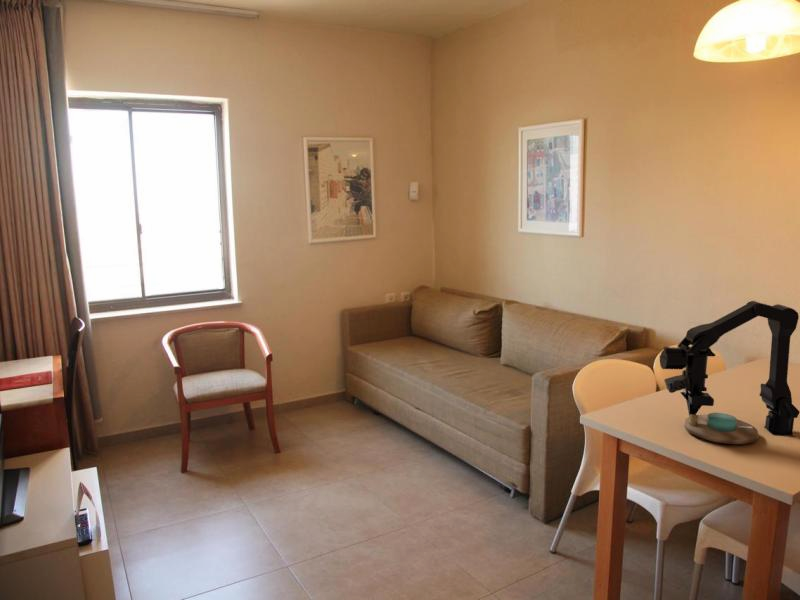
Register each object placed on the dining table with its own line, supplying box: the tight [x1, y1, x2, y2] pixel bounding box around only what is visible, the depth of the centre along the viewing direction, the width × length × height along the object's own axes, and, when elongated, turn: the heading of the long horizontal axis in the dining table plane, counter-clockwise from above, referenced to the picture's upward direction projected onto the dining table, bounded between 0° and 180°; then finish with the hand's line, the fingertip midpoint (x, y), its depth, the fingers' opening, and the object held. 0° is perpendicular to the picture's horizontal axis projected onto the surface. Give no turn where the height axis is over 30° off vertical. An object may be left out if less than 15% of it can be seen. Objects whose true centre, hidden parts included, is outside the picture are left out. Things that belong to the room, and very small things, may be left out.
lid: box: [707, 412, 738, 432], centre depth 192 cm, size 8×8×3 cm
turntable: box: [684, 414, 759, 445], centre depth 192 cm, size 20×20×4 cm
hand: (691, 417), depth 195 cm, fingers closed
